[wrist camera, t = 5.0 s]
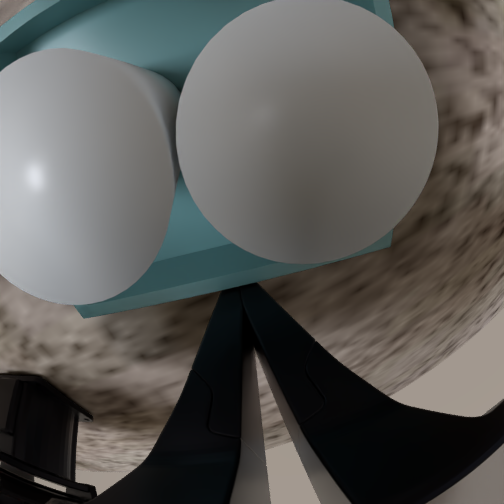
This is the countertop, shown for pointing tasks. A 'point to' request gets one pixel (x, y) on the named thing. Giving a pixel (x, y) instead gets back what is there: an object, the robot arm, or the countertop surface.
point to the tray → (176, 70)
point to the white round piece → (306, 130)
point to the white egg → (83, 173)
